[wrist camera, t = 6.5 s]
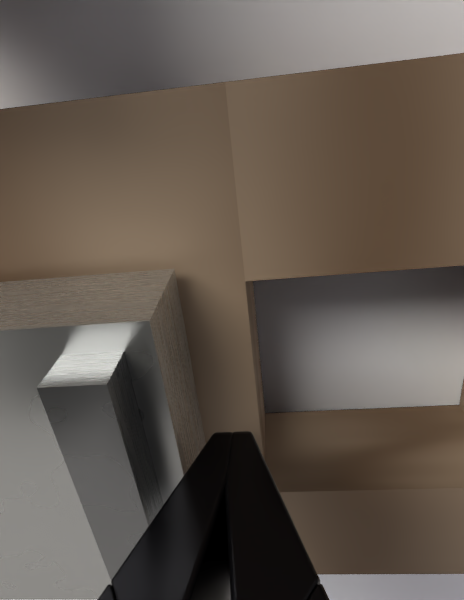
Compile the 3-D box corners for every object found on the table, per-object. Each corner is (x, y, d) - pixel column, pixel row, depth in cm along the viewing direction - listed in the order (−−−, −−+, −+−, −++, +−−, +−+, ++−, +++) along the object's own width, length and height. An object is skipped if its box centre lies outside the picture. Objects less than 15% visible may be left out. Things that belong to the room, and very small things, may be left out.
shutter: (174, 268, 8) (135, 350, 5) (218, 516, 11) (206, 642, 8) (-161, 294, 9) (-334, 377, 6) (-32, 521, 12) (-111, 639, 9)
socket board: (569, 44, 9) (708, 23, 6) (476, 483, 14) (525, 573, 12) (-130, 128, 10) (-268, 141, 8) (34, 494, 16) (-11, 575, 13)
